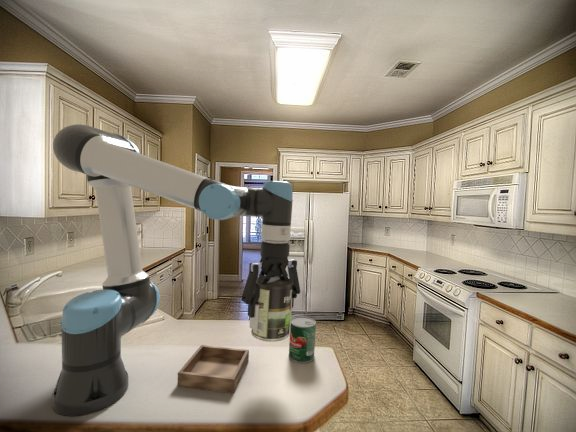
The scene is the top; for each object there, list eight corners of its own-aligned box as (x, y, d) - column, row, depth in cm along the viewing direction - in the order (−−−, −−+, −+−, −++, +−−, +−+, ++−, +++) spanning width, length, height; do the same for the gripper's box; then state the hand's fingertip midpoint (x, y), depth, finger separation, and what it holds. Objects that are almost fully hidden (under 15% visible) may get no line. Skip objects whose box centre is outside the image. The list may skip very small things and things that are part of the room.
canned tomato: (285, 359, 90) (286, 324, 90) (293, 347, 98) (294, 314, 97) (310, 365, 88) (312, 328, 87) (316, 352, 95) (318, 318, 95)
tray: (177, 386, 76) (177, 372, 75) (201, 356, 90) (201, 345, 90) (233, 393, 74) (234, 379, 74) (248, 361, 88) (248, 350, 88)
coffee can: (292, 327, 84) (296, 277, 83) (285, 344, 74) (288, 288, 73) (257, 322, 86) (260, 273, 85) (245, 338, 76) (248, 283, 75)
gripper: (244, 245, 68) (240, 340, 70) (317, 241, 82) (311, 320, 84) (229, 240, 74) (225, 328, 75) (299, 237, 88) (294, 311, 89)
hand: (270, 324), depth 79 cm, fingers closed on coffee can, 10 cm apart
